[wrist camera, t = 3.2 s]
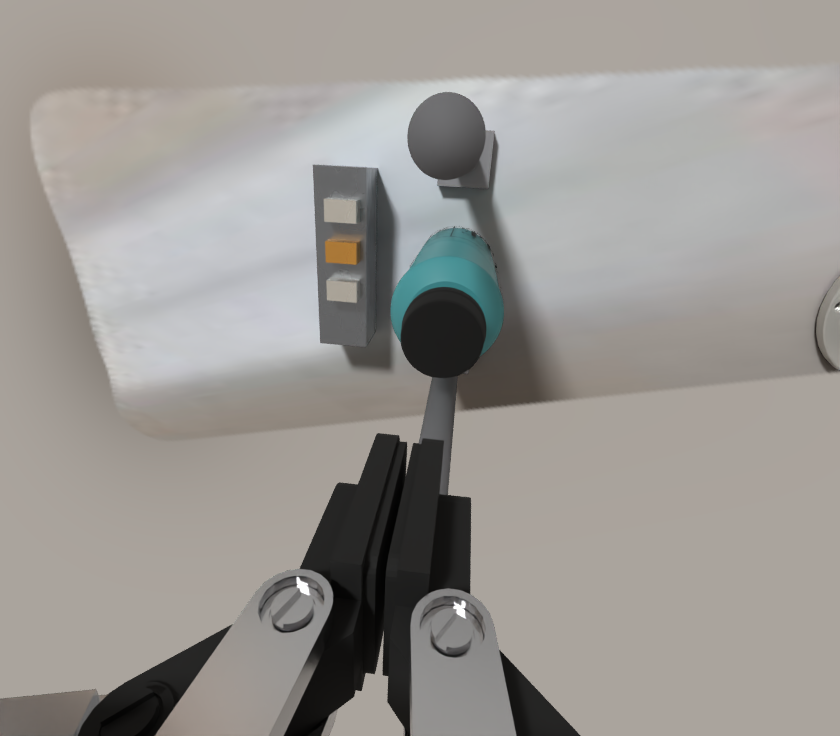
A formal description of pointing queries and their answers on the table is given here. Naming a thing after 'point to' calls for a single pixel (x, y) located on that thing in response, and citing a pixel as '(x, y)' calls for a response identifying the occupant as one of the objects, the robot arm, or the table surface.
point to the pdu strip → (346, 252)
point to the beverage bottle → (448, 304)
